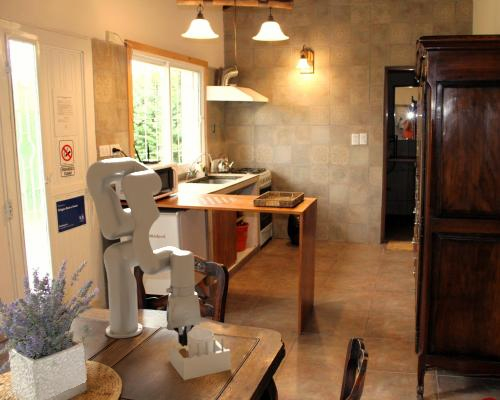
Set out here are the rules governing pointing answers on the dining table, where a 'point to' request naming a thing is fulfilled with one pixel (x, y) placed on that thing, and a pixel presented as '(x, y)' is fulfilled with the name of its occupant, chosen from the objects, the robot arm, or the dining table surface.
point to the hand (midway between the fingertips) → (183, 344)
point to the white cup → (200, 340)
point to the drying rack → (201, 361)
